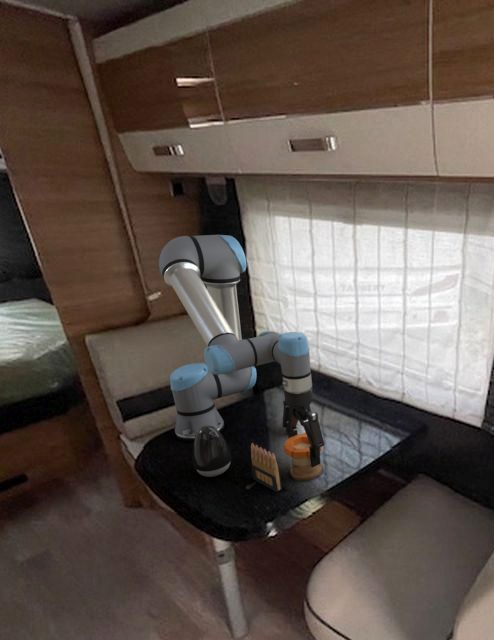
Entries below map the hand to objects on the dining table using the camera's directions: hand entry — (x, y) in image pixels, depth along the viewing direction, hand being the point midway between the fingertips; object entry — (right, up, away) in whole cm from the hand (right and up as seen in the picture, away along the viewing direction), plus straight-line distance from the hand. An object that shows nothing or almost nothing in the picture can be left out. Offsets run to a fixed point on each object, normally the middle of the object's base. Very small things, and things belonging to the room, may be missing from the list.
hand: (304, 457), depth 123 cm
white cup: (-9, +5, +24) cm, 26 cm away
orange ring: (0, +3, -1) cm, 3 cm away
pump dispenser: (-27, -5, +1) cm, 27 cm away
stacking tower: (0, -4, +2) cm, 5 cm away
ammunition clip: (-10, -7, -4) cm, 12 cm away
